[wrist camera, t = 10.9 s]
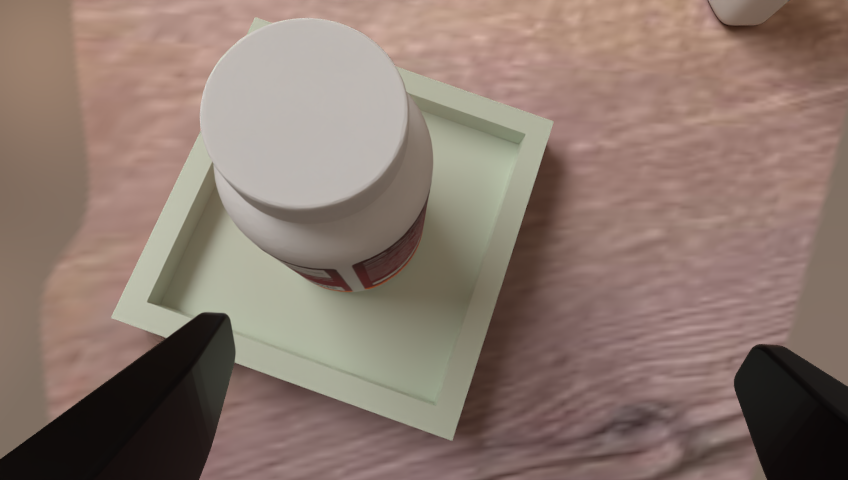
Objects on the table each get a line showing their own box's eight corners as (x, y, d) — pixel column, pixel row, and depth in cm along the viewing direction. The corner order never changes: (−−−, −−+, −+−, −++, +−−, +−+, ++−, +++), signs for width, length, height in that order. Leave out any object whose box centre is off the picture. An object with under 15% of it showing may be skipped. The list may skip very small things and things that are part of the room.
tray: (447, 431, 21) (451, 440, 19) (137, 320, 21) (111, 317, 19) (540, 139, 24) (553, 121, 22) (266, 43, 24) (255, 17, 22)
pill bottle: (406, 144, 23) (416, -32, 12) (436, 277, 22) (476, 213, 11) (268, 170, 22) (148, 7, 11) (291, 308, 21) (182, 272, 10)
